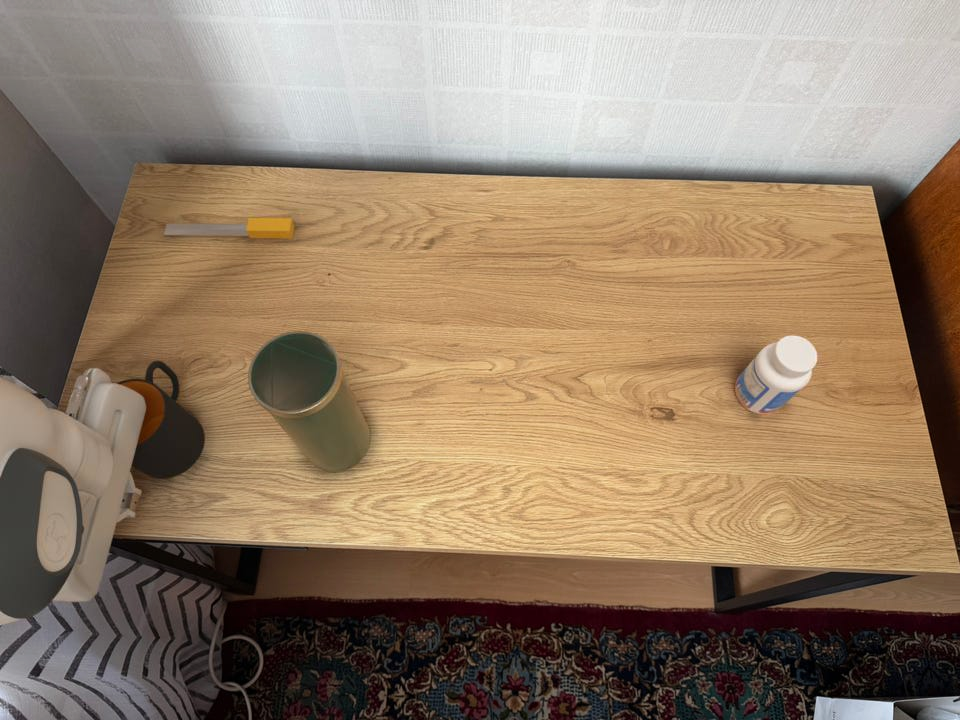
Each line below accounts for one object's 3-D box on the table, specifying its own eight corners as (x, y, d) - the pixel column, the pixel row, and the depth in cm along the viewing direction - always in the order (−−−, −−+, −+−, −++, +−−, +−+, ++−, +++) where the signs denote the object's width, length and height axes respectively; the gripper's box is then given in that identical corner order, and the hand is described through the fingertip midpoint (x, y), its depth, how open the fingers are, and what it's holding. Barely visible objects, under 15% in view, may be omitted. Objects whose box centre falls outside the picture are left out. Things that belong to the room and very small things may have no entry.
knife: (294, 226, 90) (291, 218, 88) (292, 238, 89) (289, 230, 87) (168, 224, 90) (162, 216, 88) (164, 237, 89) (159, 229, 87)
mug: (219, 386, 79) (184, 349, 70) (195, 480, 74) (154, 454, 64) (154, 383, 79) (110, 345, 70) (125, 476, 74) (74, 450, 65)
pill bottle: (787, 381, 80) (832, 341, 70) (776, 423, 77) (820, 387, 67) (739, 363, 81) (776, 321, 71) (727, 403, 78) (763, 365, 68)
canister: (340, 488, 73) (295, 431, 55) (287, 446, 76) (228, 379, 58) (386, 433, 76) (358, 362, 58) (335, 394, 79) (292, 315, 61)
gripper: (51, 359, 59) (127, 411, 71) (-29, 592, 50) (73, 605, 62) (119, 360, 59) (183, 412, 71) (51, 594, 50) (137, 607, 62)
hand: (131, 504), depth 67 cm, fingers closed
